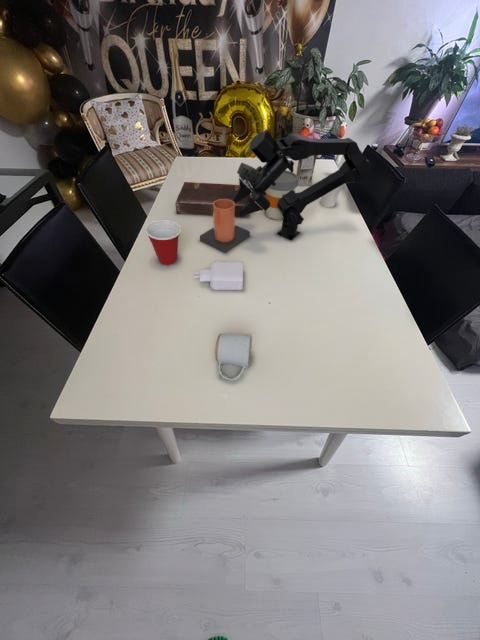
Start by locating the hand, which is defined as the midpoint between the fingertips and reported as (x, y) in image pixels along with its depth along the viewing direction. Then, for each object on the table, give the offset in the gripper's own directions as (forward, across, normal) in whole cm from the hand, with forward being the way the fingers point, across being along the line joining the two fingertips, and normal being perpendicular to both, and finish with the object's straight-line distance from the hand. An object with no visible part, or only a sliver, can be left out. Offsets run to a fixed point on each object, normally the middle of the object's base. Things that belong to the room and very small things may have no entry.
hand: (236, 209), depth 100 cm
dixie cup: (-24, -20, +41) cm, 51 cm away
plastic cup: (+26, +7, -9) cm, 28 cm away
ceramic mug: (+18, +52, 0) cm, 55 cm away
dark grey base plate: (+11, -2, +6) cm, 13 cm away
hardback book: (+10, -28, +7) cm, 30 cm away
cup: (+10, 0, +4) cm, 11 cm away
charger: (+16, +21, +1) cm, 27 cm away
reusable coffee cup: (-6, -16, +24) cm, 29 cm away
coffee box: (-22, -43, +40) cm, 63 cm away
